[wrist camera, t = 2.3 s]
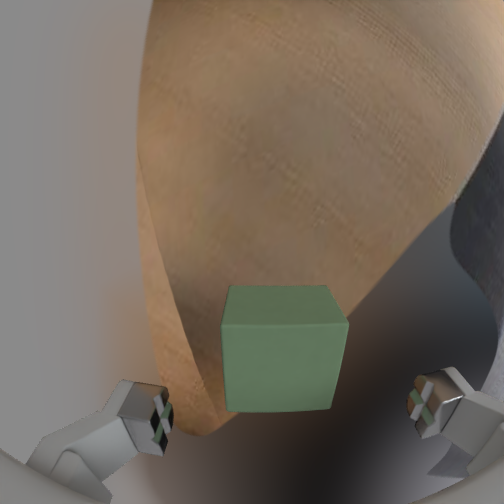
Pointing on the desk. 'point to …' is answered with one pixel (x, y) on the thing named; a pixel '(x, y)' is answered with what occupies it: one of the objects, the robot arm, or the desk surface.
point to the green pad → (281, 348)
